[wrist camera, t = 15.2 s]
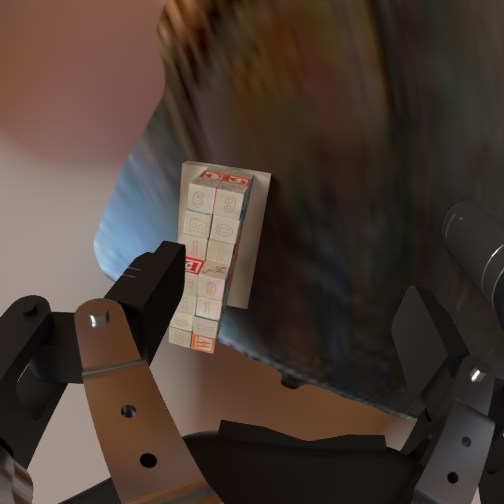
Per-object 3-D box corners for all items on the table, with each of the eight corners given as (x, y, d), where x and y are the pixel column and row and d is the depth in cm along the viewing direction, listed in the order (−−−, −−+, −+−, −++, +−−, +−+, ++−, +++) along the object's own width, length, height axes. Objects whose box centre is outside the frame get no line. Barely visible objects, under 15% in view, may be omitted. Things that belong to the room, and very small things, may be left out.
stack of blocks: (209, 163, 41) (180, 190, 30) (255, 173, 41) (242, 203, 30) (190, 292, 51) (167, 343, 41) (228, 301, 51) (212, 355, 41)
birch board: (271, 173, 43) (270, 177, 41) (248, 301, 53) (247, 309, 52) (186, 160, 43) (182, 163, 42) (179, 288, 54) (176, 294, 52)
